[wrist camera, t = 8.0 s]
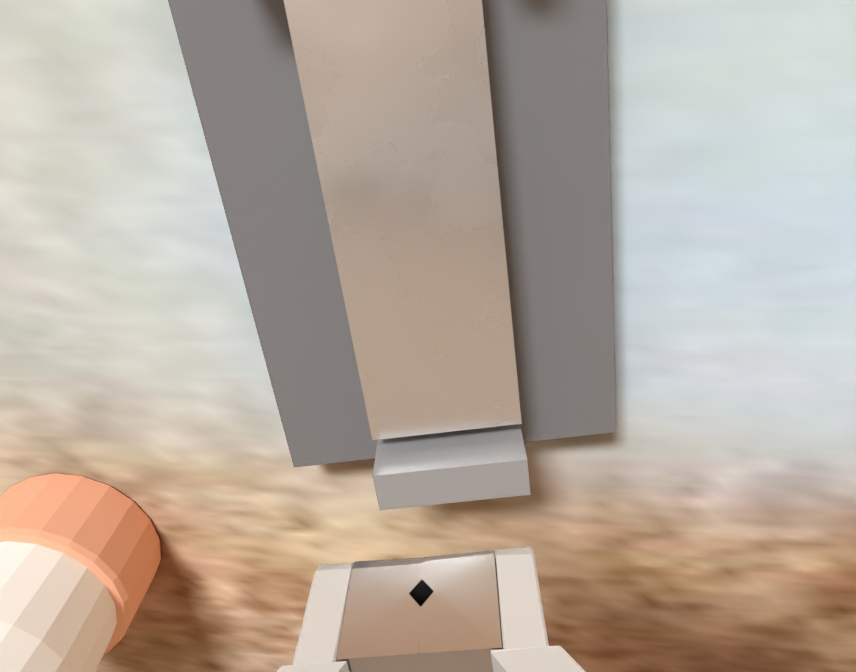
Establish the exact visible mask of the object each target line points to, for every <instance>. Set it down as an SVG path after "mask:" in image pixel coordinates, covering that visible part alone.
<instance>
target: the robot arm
mask: <svg viewBox="0 0 856 672" xmlns="http://www.w3.org/2000/svg"><path fill="white" fill-rule="evenodd" d="M276 672H586V671H585V670H584V669H583V668H582V667H581V666H580V665H579V664H578V663H577V662H576V661H575V660H574V659H573V658H572V657H571V656H570V655H569V654H568V653H567V652H566V651H565V650H564V649H563V648H562V647H561V646H549V644H548V638H547V632H546V626H545V619H544V613H543V607H542V601H541V595H540V588H539V582H538V576H537V570H536V564H535V558H534V552H533V550H532V549H531V547H522V548H512V549H502V550H496V559H495V552H494V551H485V552H474V553H463V554H453V555H442V556H432V557H425V558H408V559H392V560H375V561H359V562H355V563H340V564H320V566H319V567H318V569H317V570H316V572H315V573H314V577H313V581H312V585H311V589H310V594H309V598H308V602H307V606H306V610H305V614H304V618H303V623H302V627H301V631H300V635H299V639H298V643H297V647H296V651H295V656H294V660H293V664H292V665H285V666H281V667H280V668H279V669H278V670H277V671H276Z"/></svg>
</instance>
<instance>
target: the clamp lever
mask: <svg viewBox="0 0 856 672" xmlns="http://www.w3.org/2000/svg"><path fill="white" fill-rule="evenodd" d="M284 5H285V10H286V15H287V20H288V25H289V30H290V35H291V40H292V45H293V50H294V55H295V60H296V65H297V70H298V74H299V79H300V84H301V89H302V94H303V99H304V104H305V109H306V114H307V119H308V124H309V129H310V134H311V139H312V144H313V149H314V154H315V159H316V164H317V169H318V173H319V178H320V183H321V188H322V193H323V198H324V203H325V208H326V213H327V218H328V223H329V228H330V233H331V238H332V243H333V248H334V253H335V258H336V263H337V268H338V272H339V277H340V282H341V287H342V292H343V297H344V302H345V307H346V312H347V317H348V322H349V327H350V332H351V337H352V342H353V347H354V352H355V357H356V362H357V367H358V371H359V376H360V381H361V386H362V391H363V396H364V401H365V406H366V411H367V416H368V421H369V426H370V431H371V436H372V440H379V439H388V438H397V437H406V436H415V435H424V434H434V433H443V432H452V431H461V430H470V429H479V428H488V427H497V426H506V425H515V424H522V422H521V411H520V401H519V390H518V379H517V369H516V358H515V347H514V337H513V326H512V316H511V305H510V294H509V284H508V273H507V262H506V252H505V241H504V230H503V220H502V209H501V199H500V188H499V177H498V167H497V156H496V145H495V135H494V124H493V113H492V103H491V92H490V82H489V71H488V60H487V50H486V39H485V28H484V18H483V7H482V0H284Z"/></svg>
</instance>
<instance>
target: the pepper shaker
mask: <svg viewBox="0 0 856 672" xmlns="http://www.w3.org/2000/svg"><path fill="white" fill-rule="evenodd" d="M160 561H161V552H160V539H159V537H158V535H157V533H156V531H155V529H154V526H153V524H152V522H151V520H150V519H149V518H148V516H147V515H146V514H145V513H144V512H143V511H142V510H141V509H140V508H139V507H138V506H137V504H136V503H135V502H134V501H133V500H131V499H129V498H128V497H126V496H125V495H123V494H122V493H120V492H119V491H117V490H116V489H114V488H112V487H111V486H109V485H106V484H103V483H100V482H97V481H95V480H92V479H89V478H86V477H83V476H75V475H65V474H49V475H43V476H36V477H30V478H28V479H26V480H24V481H22V482H20V483H18V484H16V485H15V486H13V487H11V488H9V489H8V490H7V491H6V493H5V494H4V495H3V496H2V497H1V498H0V672H95V671H96V669H97V667H98V665H99V663H100V661H101V659H102V657H103V655H104V654H106V653H107V652H108V651H110V650H111V649H112V648H113V647H114V646H115V645H116V644H117V643H118V642H119V641H120V640H121V639H122V638H123V637H124V635H125V633H126V631H127V630H128V628H129V626H130V624H131V622H132V620H133V618H134V616H135V614H136V612H137V610H138V608H139V606H140V604H141V602H142V600H143V598H144V596H145V594H146V592H147V590H148V588H149V586H150V584H151V582H152V580H153V578H154V576H155V574H156V571H157V568H158V566H159V563H160Z"/></svg>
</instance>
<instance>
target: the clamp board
mask: <svg viewBox="0 0 856 672" xmlns="http://www.w3.org/2000/svg"><path fill="white" fill-rule="evenodd" d="M168 2H169V6H170V9H171V13H172V17H173V20H174V24H175V28H176V32H177V35H178V39H179V43H180V46H181V50H182V54H183V57H184V61H185V65H186V69H187V72H188V76H189V80H190V83H191V87H192V91H193V95H194V98H195V102H196V106H197V109H198V113H199V117H200V120H201V124H202V128H203V132H204V135H205V139H206V143H207V146H208V150H209V154H210V158H211V161H212V165H213V169H214V172H215V176H216V180H217V183H218V187H219V191H220V195H221V198H222V202H223V206H224V209H225V213H226V217H227V221H228V224H229V228H230V232H231V235H232V239H233V243H234V247H235V250H236V254H237V258H238V261H239V265H240V269H241V272H242V276H243V280H244V284H245V287H246V291H247V295H248V298H249V302H250V306H251V310H252V313H253V317H254V321H255V324H256V328H257V332H258V335H259V339H260V343H261V347H262V350H263V354H264V358H265V361H266V365H267V369H268V373H269V376H270V380H271V384H272V387H273V391H274V395H275V398H276V402H277V406H278V410H279V413H280V417H281V421H282V424H283V428H284V432H285V436H286V439H287V443H288V447H289V450H290V454H291V458H292V462H293V465H294V467H301V466H310V465H320V464H329V463H338V462H347V461H356V460H366V459H375V462H374V470H373V480H374V485H375V490H376V495H377V499H378V504H379V509H380V510H388V509H398V508H407V507H417V506H427V505H436V504H446V503H456V502H465V501H475V500H485V499H494V498H504V497H514V496H523V495H531V494H530V483H529V472H528V461H527V455H526V451H525V446H524V442H531V441H540V440H549V439H558V438H568V437H577V436H586V435H595V434H604V433H614V432H616V398H615V355H614V312H613V268H612V225H611V181H610V138H609V95H608V51H607V8H606V0H482V7H483V18H484V28H485V39H486V50H487V60H488V71H489V82H490V92H491V103H492V113H493V124H494V135H495V145H496V156H497V167H498V177H499V188H500V199H501V209H502V220H503V230H504V241H505V252H506V262H507V273H508V284H509V294H510V305H511V316H512V326H513V337H514V347H515V358H516V369H517V379H518V390H519V401H520V411H521V422H522V424H515V425H506V426H497V427H488V428H479V429H470V430H461V431H452V432H443V433H434V434H424V435H415V436H406V437H397V438H388V439H379V440H372V436H371V431H370V426H369V421H368V416H367V411H366V406H365V401H364V396H363V391H362V386H361V381H360V376H359V371H358V367H357V362H356V357H355V352H354V347H353V342H352V337H351V332H350V327H349V322H348V317H347V312H346V307H345V302H344V297H343V292H342V287H341V282H340V277H339V272H338V268H337V263H336V258H335V253H334V248H333V243H332V238H331V233H330V228H329V223H328V218H327V213H326V208H325V203H324V198H323V193H322V188H321V183H320V178H319V173H318V169H317V164H316V159H315V154H314V149H313V144H312V139H311V134H310V129H309V124H308V119H307V114H306V109H305V104H304V99H303V94H302V89H301V84H300V79H299V74H298V70H297V65H296V60H295V55H294V50H293V45H292V40H291V35H290V30H289V25H288V20H287V15H286V10H285V5H284V0H168Z"/></svg>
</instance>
